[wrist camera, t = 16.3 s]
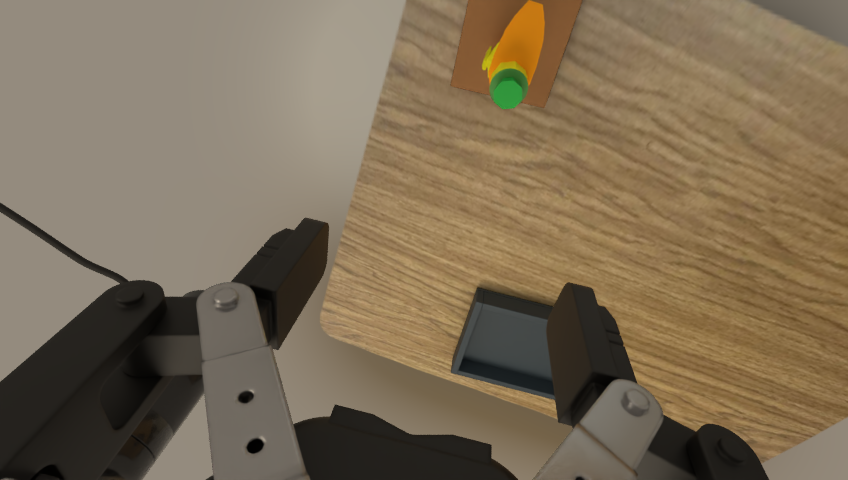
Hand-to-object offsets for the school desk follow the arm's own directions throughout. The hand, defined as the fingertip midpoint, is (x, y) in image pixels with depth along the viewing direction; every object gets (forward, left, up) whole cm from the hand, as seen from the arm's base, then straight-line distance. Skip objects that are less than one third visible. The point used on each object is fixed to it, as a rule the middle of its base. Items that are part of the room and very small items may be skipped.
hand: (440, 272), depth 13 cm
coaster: (+2, +4, -25) cm, 25 cm away
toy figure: (+2, +4, -24) cm, 25 cm away
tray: (+13, -27, -25) cm, 39 cm away
